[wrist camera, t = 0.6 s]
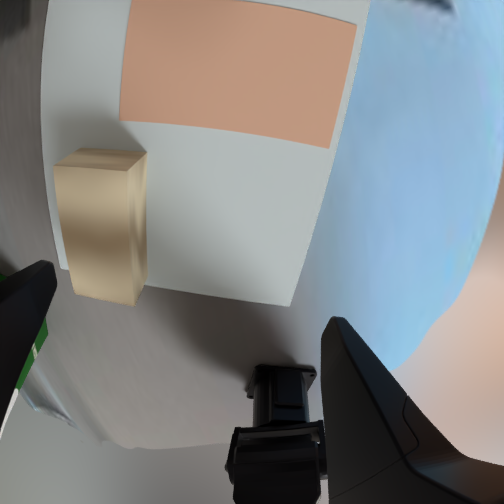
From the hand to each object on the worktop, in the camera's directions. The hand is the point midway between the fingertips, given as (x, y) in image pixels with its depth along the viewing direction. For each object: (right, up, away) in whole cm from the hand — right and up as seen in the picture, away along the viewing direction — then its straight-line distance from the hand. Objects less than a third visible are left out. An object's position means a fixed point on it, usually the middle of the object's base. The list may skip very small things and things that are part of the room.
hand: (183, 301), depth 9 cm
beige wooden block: (-8, +4, +12) cm, 15 cm away
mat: (-3, +8, +9) cm, 13 cm away
